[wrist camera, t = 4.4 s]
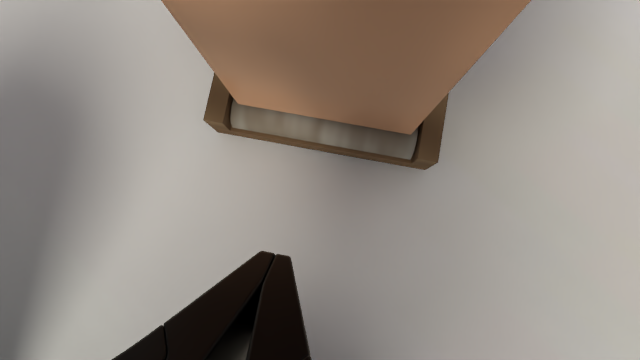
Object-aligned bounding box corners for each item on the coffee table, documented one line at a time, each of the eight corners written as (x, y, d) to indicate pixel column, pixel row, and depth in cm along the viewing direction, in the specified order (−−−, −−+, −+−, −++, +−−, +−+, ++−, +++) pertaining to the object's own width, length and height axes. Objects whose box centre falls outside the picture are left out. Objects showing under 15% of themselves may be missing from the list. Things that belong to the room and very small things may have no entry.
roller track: (425, 170, 21) (462, 147, 15) (217, 132, 22) (175, 96, 16) (461, -62, 23) (508, -163, 17) (268, -91, 23) (247, -200, 17)
